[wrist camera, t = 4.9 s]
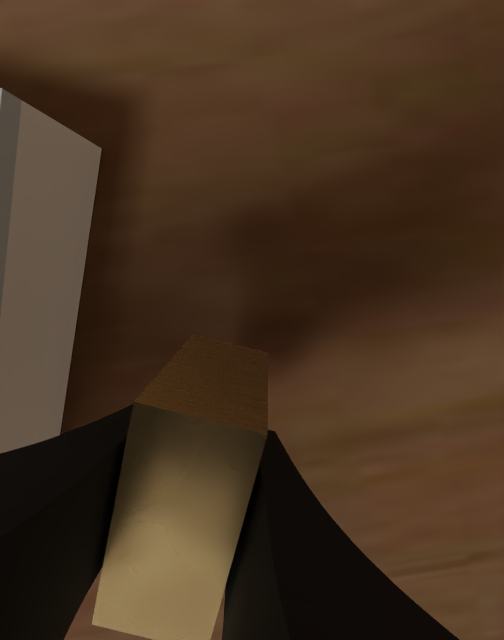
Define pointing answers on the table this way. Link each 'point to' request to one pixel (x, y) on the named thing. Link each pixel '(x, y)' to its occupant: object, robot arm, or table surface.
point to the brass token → (184, 491)
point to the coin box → (40, 265)
